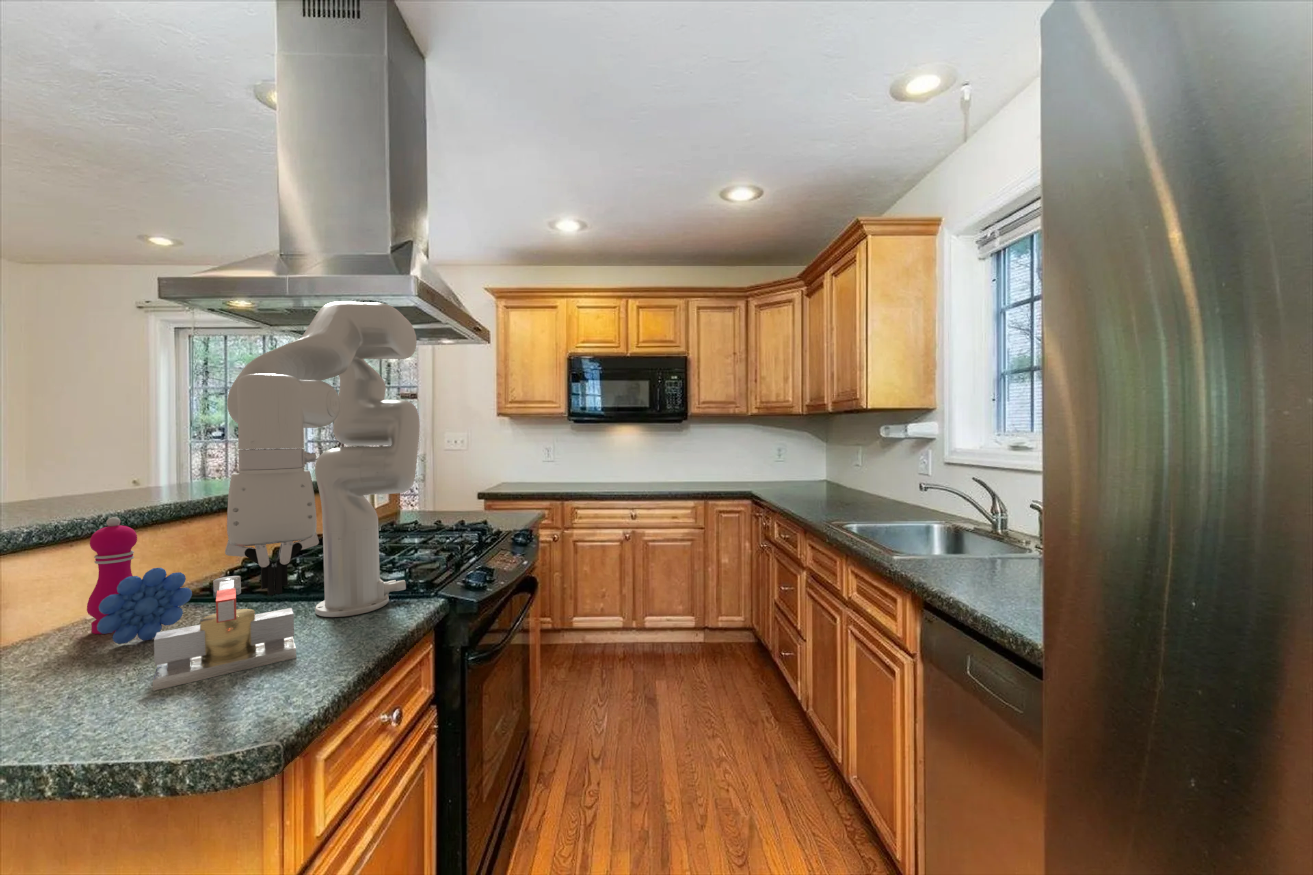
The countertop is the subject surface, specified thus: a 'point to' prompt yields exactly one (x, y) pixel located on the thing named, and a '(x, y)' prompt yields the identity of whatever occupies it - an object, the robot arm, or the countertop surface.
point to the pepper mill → (110, 563)
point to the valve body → (223, 646)
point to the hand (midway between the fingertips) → (274, 592)
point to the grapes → (144, 605)
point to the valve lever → (226, 597)
